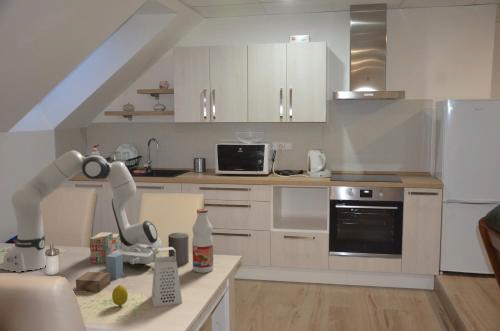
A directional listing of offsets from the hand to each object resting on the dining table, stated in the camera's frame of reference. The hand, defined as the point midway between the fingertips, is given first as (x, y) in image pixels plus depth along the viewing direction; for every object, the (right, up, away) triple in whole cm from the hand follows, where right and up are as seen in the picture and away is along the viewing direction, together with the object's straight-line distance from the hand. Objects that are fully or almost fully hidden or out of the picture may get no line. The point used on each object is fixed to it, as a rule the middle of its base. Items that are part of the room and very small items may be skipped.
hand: (122, 261), depth 210 cm
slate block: (-2, -6, -5) cm, 8 cm away
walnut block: (-7, -8, -17) cm, 20 cm away
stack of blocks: (-15, -3, +26) cm, 30 cm away
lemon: (+9, -9, -37) cm, 39 cm away
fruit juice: (+36, -5, +4) cm, 36 cm away
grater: (+25, -9, -31) cm, 41 cm away
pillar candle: (+23, -4, +15) cm, 28 cm away
